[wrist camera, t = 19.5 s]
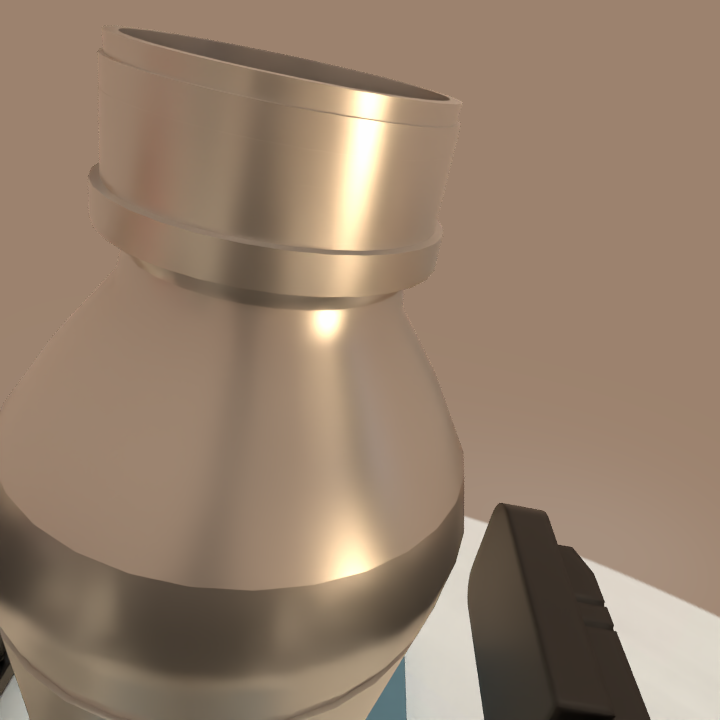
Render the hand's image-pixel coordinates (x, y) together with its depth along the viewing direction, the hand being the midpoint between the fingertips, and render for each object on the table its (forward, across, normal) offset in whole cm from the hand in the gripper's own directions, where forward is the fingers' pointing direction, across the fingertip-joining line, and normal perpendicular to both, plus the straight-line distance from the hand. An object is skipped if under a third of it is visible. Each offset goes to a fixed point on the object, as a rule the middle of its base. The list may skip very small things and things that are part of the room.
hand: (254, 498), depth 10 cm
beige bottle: (-1, 0, +14) cm, 14 cm away
